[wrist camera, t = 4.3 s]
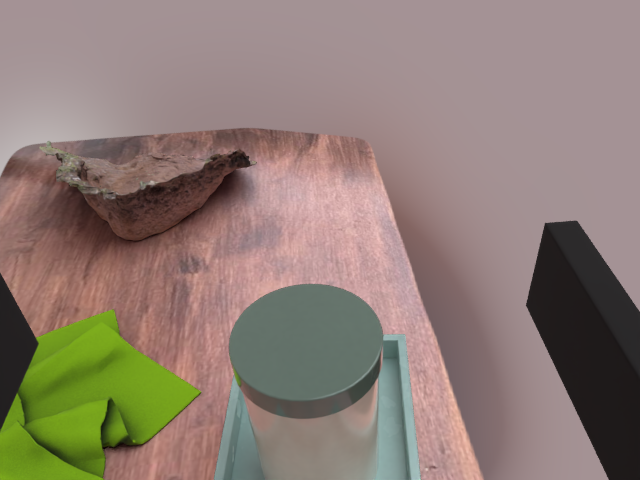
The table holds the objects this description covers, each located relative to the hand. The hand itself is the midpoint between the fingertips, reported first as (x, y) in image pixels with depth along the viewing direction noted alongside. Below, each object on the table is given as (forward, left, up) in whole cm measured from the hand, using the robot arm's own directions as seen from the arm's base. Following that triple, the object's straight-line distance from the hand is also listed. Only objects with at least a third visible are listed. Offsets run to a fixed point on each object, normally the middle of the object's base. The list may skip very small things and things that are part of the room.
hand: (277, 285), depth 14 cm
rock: (+48, +23, -30) cm, 61 cm away
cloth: (+18, +23, -30) cm, 41 cm away
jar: (+10, +1, -24) cm, 26 cm away
